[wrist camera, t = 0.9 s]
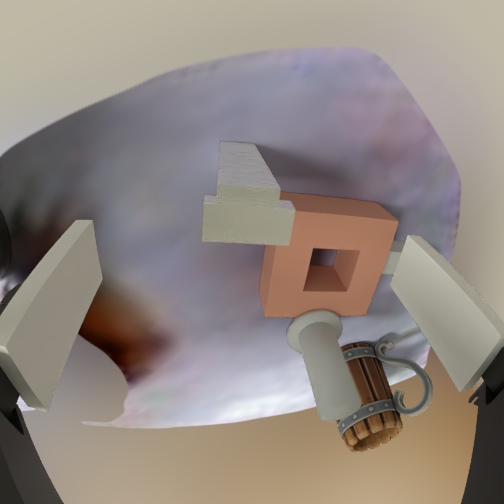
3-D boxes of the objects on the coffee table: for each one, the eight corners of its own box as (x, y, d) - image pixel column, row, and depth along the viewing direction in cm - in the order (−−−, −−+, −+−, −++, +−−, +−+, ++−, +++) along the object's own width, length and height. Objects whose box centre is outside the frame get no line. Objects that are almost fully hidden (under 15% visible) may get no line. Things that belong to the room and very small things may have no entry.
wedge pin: (211, 173, 28) (201, 252, 15) (213, 140, 27) (204, 191, 13) (256, 176, 29) (287, 255, 16) (260, 144, 27) (297, 197, 14)
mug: (338, 387, 49) (361, 458, 36) (303, 369, 45) (324, 452, 32) (409, 336, 44) (448, 405, 31) (383, 309, 40) (429, 390, 27)
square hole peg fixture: (254, 321, 38) (270, 432, 24) (273, 191, 30) (318, 287, 16) (397, 317, 41) (446, 399, 27) (439, 212, 33) (523, 283, 19)
